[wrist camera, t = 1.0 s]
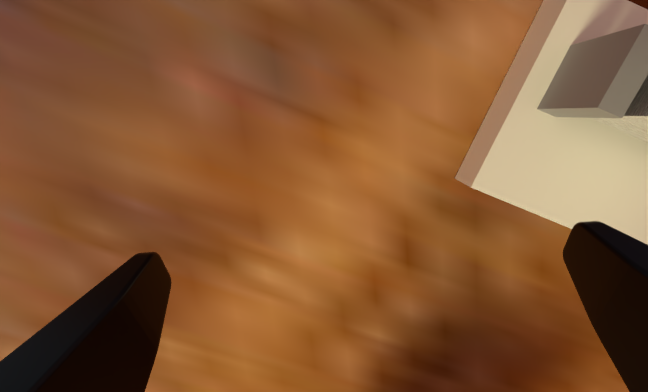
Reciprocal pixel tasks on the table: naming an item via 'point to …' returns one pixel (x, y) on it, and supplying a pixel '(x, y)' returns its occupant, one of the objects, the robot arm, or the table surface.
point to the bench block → (569, 119)
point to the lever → (633, 116)
